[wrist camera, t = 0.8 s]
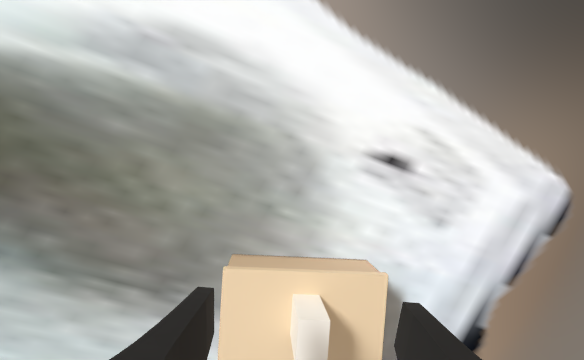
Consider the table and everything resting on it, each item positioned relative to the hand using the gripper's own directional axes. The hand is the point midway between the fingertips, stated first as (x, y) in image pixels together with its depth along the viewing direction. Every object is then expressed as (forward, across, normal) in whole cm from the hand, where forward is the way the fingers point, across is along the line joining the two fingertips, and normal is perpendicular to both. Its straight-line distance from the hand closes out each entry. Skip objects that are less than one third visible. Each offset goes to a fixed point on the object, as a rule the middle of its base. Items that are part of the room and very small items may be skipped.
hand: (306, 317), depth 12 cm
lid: (+9, -1, +12) cm, 15 cm away
